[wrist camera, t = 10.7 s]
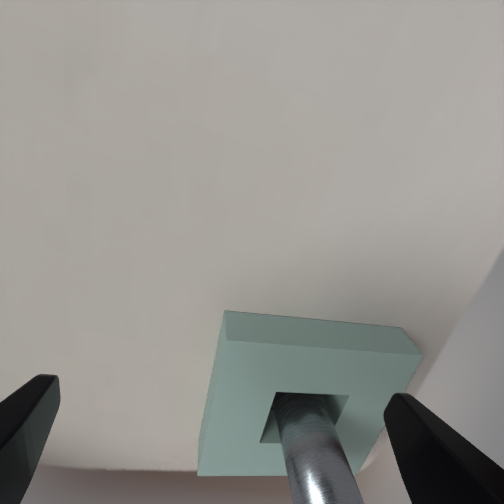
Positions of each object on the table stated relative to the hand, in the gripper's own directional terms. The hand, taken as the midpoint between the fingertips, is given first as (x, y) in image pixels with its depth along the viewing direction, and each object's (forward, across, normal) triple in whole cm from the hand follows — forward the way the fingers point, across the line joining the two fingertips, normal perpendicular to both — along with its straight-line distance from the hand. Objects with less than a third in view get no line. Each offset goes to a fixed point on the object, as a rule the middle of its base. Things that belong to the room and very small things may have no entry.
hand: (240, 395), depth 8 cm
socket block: (+12, -8, +13) cm, 19 cm away
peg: (+12, -8, +13) cm, 19 cm away
